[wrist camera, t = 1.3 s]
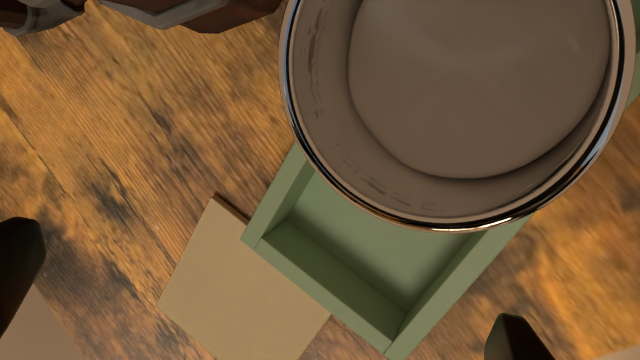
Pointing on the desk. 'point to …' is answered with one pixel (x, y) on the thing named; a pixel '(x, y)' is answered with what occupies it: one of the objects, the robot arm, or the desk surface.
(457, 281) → the holder
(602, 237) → the desk surface
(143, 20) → the mug
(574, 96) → the beer glass
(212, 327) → the coaster
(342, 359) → the desk surface
